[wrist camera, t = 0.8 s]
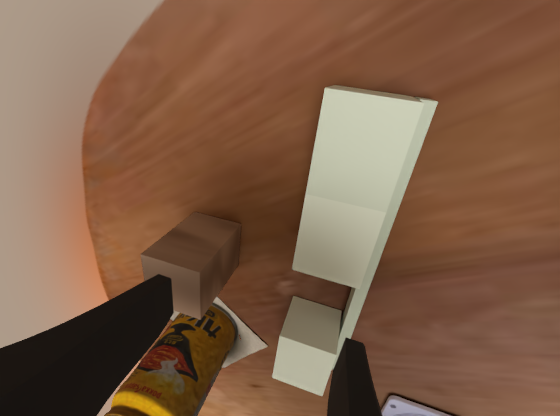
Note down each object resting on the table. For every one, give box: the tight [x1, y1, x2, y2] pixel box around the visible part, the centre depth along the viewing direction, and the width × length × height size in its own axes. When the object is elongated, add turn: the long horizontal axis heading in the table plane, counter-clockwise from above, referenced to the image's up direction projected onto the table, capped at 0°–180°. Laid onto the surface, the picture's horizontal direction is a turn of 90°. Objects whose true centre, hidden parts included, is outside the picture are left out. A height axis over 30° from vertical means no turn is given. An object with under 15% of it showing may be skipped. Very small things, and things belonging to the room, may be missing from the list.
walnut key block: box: [141, 212, 241, 320], centre depth 20 cm, size 4×4×6 cm
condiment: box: [104, 297, 268, 416], centre depth 22 cm, size 7×8×12 cm
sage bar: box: [272, 85, 438, 396], centre depth 18 cm, size 21×5×4 cm, turn 173°
